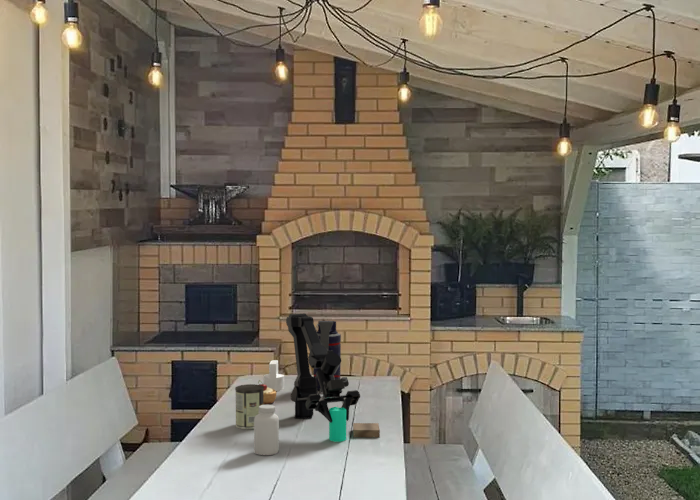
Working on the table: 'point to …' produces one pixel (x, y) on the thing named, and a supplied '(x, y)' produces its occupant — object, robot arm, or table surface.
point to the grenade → (329, 343)
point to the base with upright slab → (274, 377)
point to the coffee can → (248, 404)
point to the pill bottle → (266, 431)
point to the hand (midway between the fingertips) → (339, 421)
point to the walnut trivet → (366, 430)
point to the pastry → (268, 394)
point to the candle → (337, 424)
